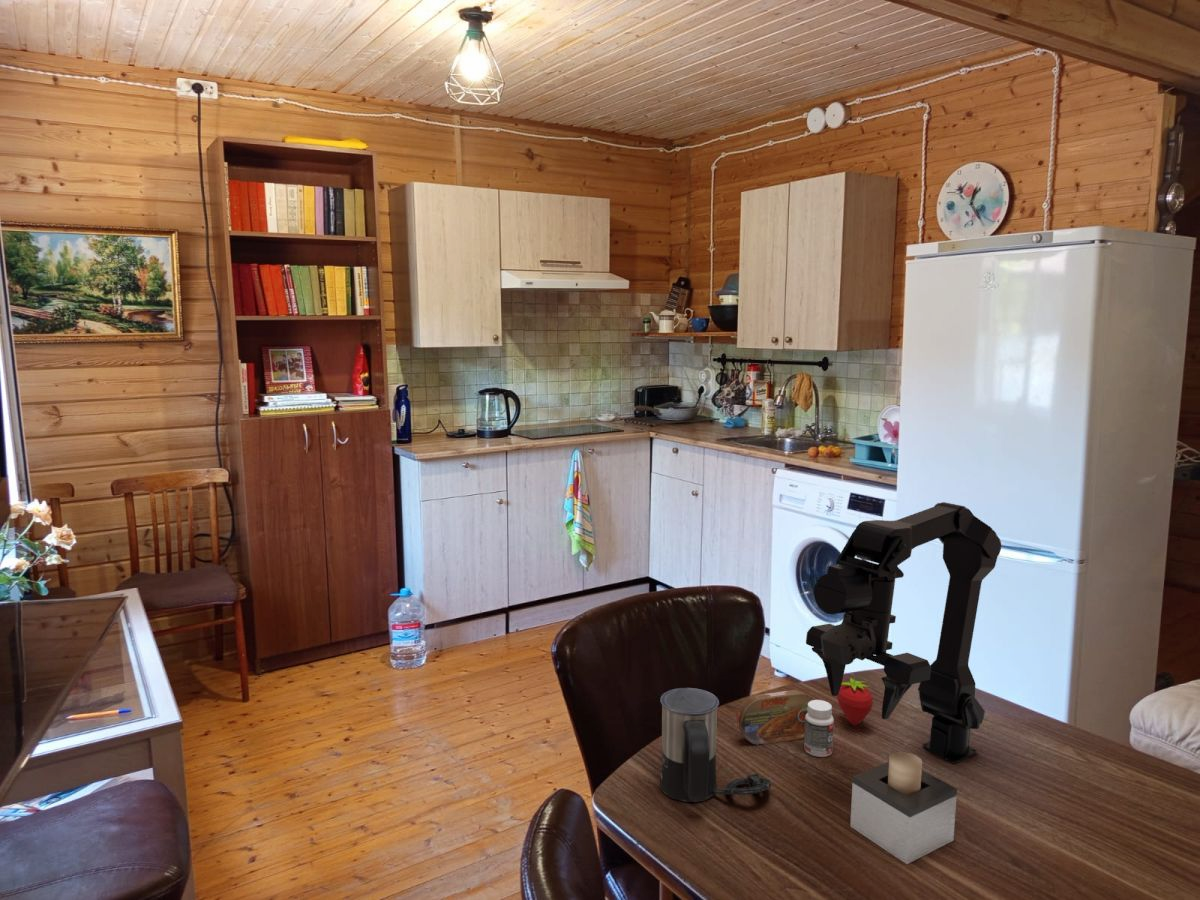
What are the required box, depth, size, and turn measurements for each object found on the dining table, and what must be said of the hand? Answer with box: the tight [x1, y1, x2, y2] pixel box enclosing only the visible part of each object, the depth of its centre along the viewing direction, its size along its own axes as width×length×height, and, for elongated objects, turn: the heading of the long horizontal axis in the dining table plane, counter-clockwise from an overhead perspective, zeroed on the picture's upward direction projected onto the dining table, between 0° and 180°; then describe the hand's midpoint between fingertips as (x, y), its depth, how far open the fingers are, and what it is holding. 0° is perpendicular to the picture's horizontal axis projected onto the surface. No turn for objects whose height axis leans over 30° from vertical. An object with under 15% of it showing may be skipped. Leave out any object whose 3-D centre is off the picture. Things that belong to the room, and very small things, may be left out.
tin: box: [736, 689, 815, 746], centre depth 147 cm, size 15×3×8 cm, turn 104°
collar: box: [850, 761, 958, 865], centre depth 120 cm, size 10×10×8 cm
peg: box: [888, 751, 923, 796], centre depth 120 cm, size 4×4×8 cm
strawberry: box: [836, 673, 874, 727], centre depth 152 cm, size 6×8×10 cm
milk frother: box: [659, 687, 772, 803], centre depth 131 cm, size 14×16×15 cm
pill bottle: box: [804, 699, 835, 758], centre depth 143 cm, size 5×5×8 cm
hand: (859, 706), depth 126 cm, fingers open, 9 cm apart
